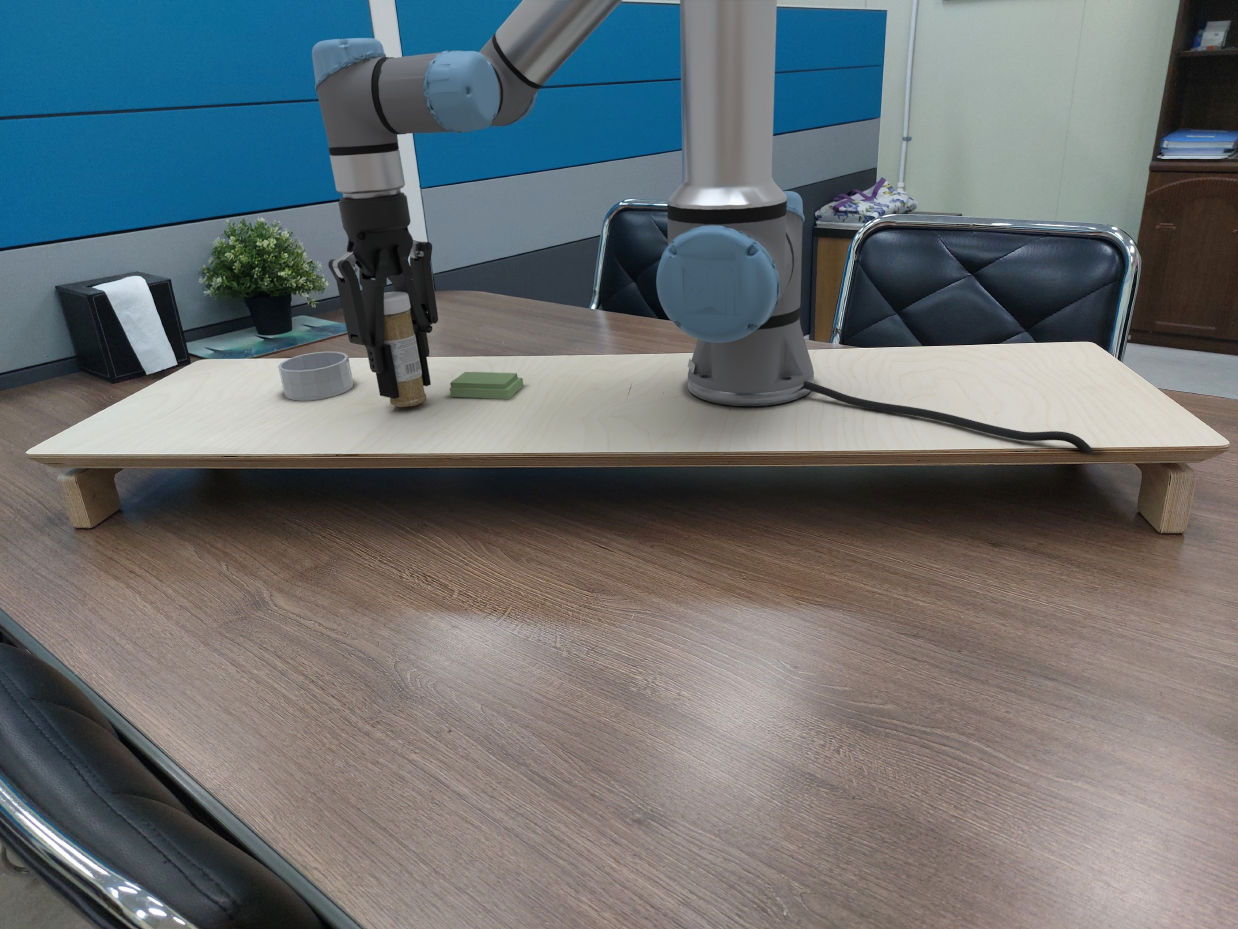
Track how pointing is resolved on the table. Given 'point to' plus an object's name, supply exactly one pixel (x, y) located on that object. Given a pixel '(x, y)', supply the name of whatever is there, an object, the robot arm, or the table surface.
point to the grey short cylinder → (316, 375)
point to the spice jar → (403, 349)
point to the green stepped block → (486, 385)
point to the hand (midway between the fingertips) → (405, 389)
